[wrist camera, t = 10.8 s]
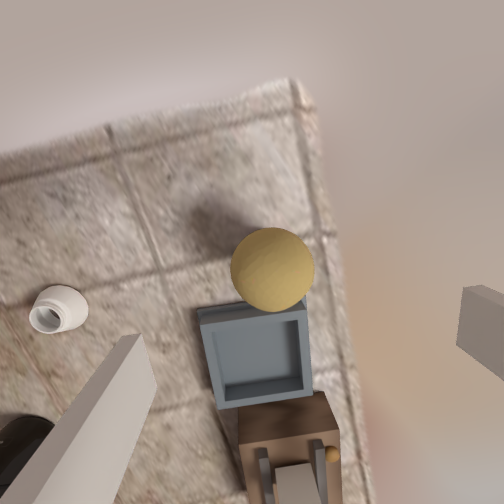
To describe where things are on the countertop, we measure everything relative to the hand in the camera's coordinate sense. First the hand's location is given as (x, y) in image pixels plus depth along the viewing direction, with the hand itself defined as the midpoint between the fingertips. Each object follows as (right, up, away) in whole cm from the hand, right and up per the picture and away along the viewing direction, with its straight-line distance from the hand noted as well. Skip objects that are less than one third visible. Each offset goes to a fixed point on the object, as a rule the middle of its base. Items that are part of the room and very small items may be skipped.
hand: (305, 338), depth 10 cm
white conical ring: (-22, -2, +17) cm, 28 cm away
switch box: (+2, -23, +23) cm, 33 cm away
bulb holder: (-2, -8, +19) cm, 20 cm away
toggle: (+3, -21, +17) cm, 28 cm away
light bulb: (-1, +4, +16) cm, 17 cm away
